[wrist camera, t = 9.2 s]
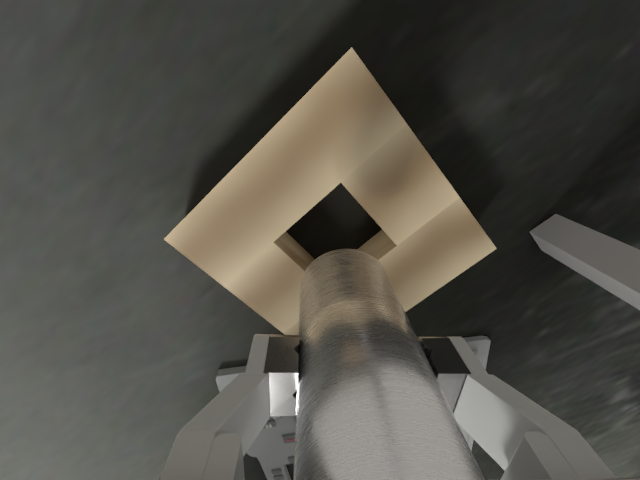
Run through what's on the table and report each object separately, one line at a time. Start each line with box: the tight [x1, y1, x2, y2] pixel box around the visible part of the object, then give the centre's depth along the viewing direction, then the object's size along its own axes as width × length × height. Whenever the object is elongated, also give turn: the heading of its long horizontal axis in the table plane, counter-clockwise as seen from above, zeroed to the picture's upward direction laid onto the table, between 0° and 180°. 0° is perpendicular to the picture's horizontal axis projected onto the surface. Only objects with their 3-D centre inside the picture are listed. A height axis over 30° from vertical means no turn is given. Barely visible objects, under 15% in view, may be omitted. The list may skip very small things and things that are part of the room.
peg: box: [294, 249, 485, 480], centre depth 9 cm, size 4×4×10 cm
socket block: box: [164, 47, 497, 335], centre depth 19 cm, size 14×14×3 cm
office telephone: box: [216, 335, 491, 480], centre depth 29 cm, size 23×3×20 cm
